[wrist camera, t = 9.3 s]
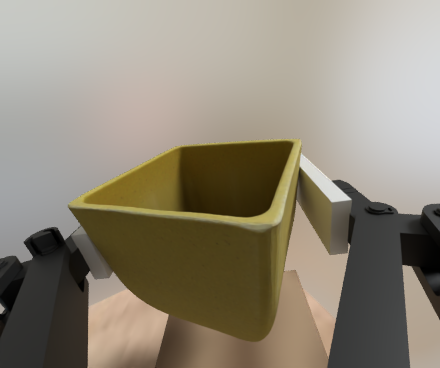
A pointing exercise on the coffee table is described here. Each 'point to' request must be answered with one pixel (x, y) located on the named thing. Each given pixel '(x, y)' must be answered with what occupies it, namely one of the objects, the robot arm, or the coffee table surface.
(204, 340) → the stool
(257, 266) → the flower pot
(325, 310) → the coffee table surface
